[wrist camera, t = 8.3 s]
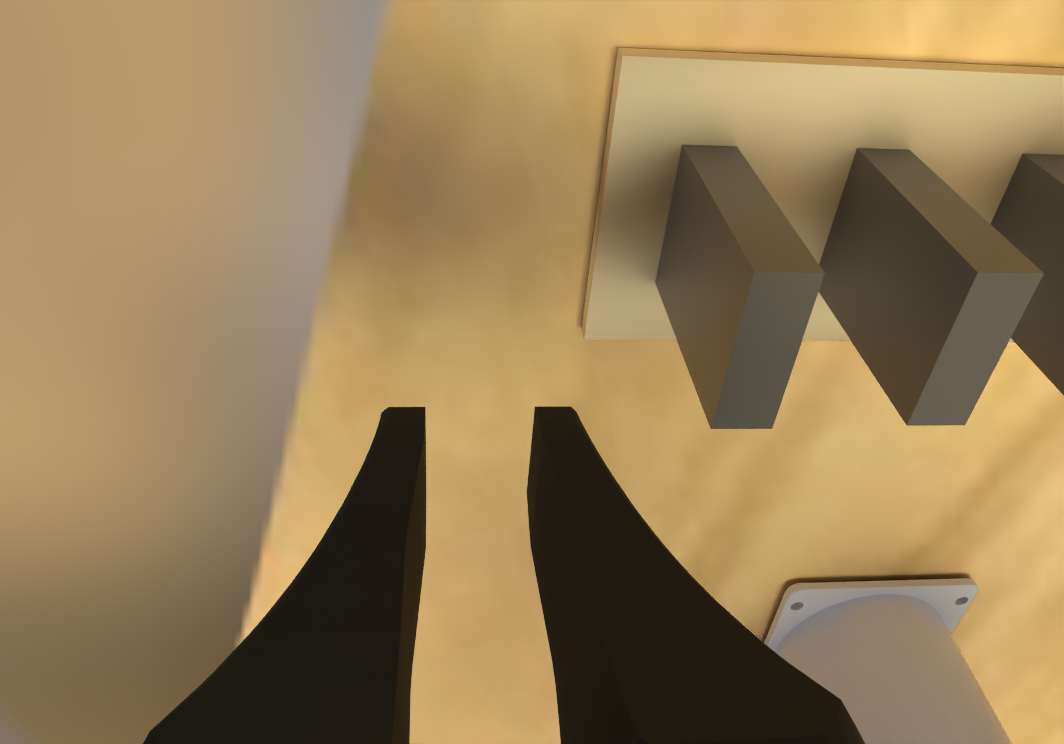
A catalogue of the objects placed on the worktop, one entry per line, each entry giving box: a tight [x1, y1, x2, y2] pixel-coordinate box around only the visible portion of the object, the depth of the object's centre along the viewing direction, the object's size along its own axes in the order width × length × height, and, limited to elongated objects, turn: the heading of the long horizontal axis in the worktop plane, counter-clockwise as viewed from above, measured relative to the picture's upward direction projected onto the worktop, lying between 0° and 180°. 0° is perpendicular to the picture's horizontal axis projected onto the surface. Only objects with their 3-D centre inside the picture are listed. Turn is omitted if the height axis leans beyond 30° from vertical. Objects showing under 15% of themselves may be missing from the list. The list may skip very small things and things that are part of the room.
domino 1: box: [655, 144, 825, 429], centre depth 19 cm, size 4×1×6 cm, turn 175°
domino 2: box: [819, 148, 1044, 425], centre depth 20 cm, size 4×1×6 cm, turn 176°
